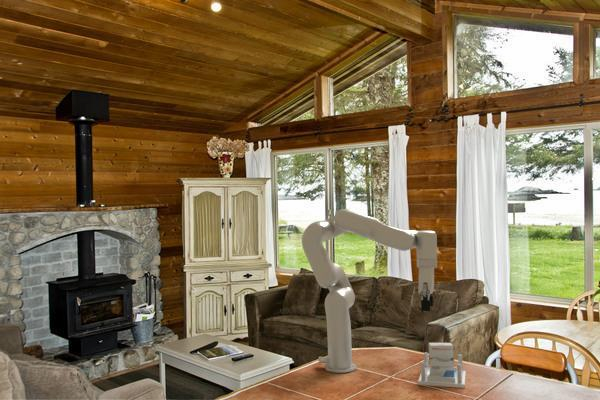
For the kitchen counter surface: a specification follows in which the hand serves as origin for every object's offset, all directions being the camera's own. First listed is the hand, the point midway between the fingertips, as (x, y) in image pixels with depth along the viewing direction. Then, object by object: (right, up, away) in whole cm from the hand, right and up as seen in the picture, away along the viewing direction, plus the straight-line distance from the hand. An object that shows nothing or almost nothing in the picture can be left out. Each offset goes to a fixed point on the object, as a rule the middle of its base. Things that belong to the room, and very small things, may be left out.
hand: (427, 308), depth 200 cm
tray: (+4, -25, -6) cm, 26 cm away
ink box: (+4, -24, -6) cm, 25 cm away
